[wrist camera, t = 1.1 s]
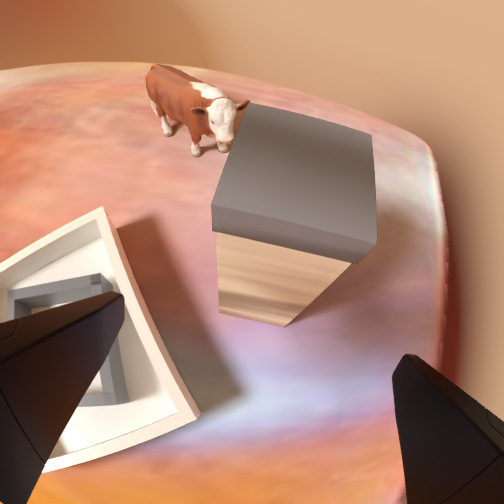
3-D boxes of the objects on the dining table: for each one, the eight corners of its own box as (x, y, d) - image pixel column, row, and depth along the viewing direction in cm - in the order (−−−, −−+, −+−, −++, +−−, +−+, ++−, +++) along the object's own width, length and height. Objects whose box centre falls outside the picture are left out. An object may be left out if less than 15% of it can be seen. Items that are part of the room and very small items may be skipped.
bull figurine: (217, 194, 25) (218, 123, 18) (145, 119, 29) (133, 58, 21) (255, 171, 27) (267, 101, 19) (178, 103, 30) (173, 43, 23)
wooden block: (285, 328, 21) (376, 244, 8) (217, 313, 21) (211, 204, 8) (295, 266, 23) (371, 134, 10) (233, 252, 23) (248, 102, 10)
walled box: (201, 412, 18) (196, 419, 15) (53, 466, 14) (30, 475, 11) (116, 228, 23) (102, 205, 20) (-4, 294, 19) (-26, 281, 16)
